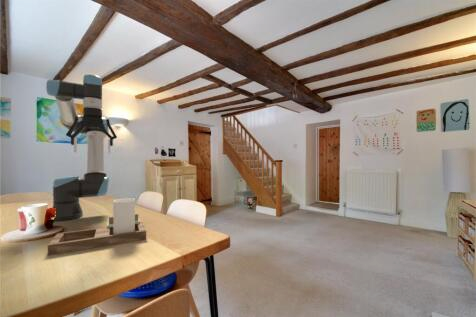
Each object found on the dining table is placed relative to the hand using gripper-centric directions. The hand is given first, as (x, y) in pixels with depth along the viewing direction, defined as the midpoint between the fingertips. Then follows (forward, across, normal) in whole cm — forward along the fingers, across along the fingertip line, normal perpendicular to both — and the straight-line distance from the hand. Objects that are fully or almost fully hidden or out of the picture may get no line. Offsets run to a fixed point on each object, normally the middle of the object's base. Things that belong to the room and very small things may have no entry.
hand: (92, 152), depth 105 cm
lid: (+33, +13, -9) cm, 37 cm away
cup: (+37, +13, -20) cm, 44 cm away
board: (+37, +5, -13) cm, 39 cm away
